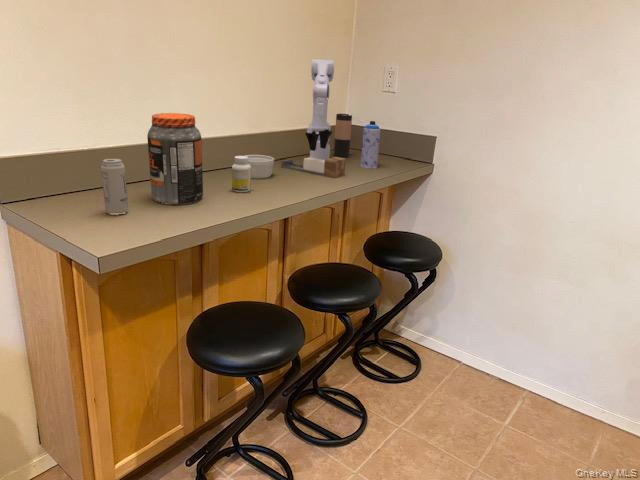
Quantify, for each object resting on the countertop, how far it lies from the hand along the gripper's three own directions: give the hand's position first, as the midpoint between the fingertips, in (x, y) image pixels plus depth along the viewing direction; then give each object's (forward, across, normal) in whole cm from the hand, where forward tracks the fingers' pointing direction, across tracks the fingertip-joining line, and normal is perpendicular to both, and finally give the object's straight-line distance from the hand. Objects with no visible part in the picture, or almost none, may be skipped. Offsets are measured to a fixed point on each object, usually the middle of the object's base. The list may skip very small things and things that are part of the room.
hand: (317, 149), depth 198 cm
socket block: (+9, 0, -9) cm, 13 cm away
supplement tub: (+10, -66, +9) cm, 67 cm away
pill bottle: (+10, -44, +2) cm, 45 cm away
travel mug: (+10, +38, +11) cm, 41 cm away
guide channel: (+9, 0, +5) cm, 11 cm away
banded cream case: (+9, 0, -2) cm, 10 cm away
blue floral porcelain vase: (+10, +27, -10) cm, 30 cm away
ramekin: (+10, -23, +13) cm, 28 cm away
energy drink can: (+10, -87, +10) cm, 88 cm away
